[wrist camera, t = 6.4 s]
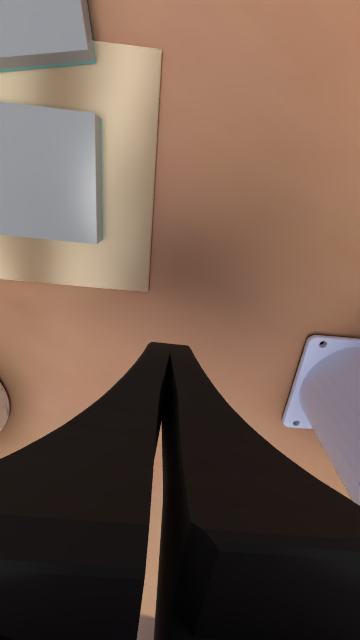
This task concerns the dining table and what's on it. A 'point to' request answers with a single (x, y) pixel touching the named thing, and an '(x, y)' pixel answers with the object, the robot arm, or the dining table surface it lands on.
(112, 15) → the dining table surface
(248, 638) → the robot arm
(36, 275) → the beige square board
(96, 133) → the tile
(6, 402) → the teacup with lid
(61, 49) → the tile
